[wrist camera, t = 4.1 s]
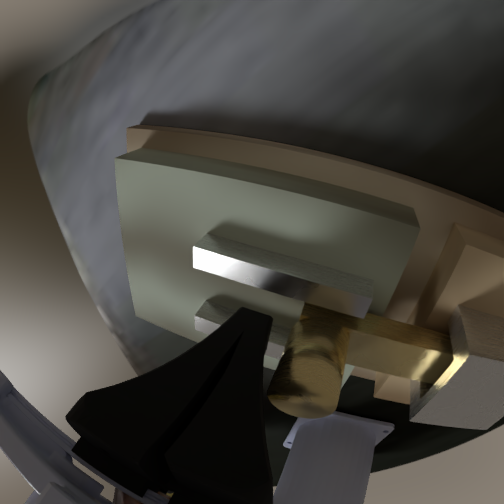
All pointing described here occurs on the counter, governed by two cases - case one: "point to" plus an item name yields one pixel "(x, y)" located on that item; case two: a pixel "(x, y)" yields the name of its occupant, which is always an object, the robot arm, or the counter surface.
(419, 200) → the door and jamb
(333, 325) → the bolt
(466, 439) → the counter surface
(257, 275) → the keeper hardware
